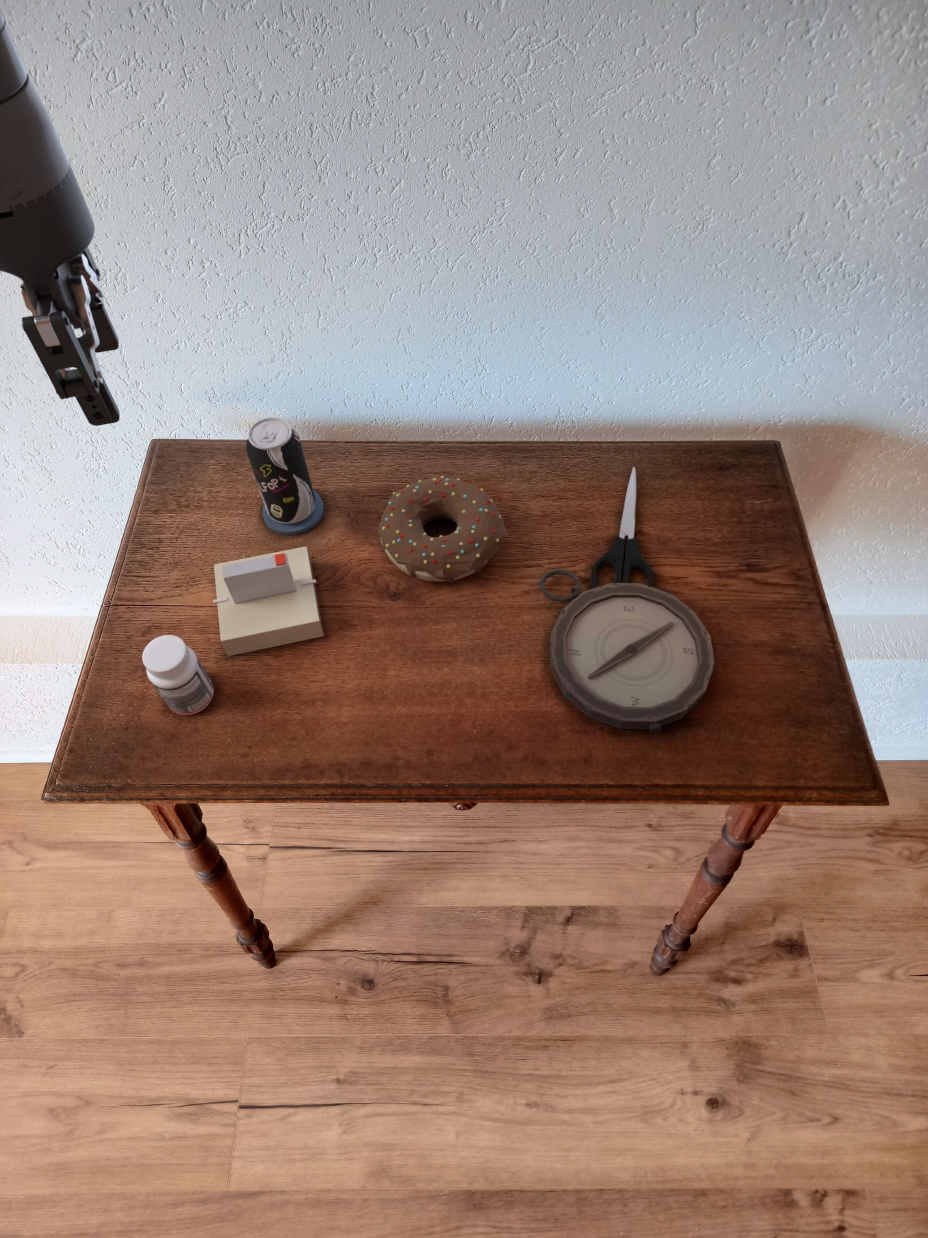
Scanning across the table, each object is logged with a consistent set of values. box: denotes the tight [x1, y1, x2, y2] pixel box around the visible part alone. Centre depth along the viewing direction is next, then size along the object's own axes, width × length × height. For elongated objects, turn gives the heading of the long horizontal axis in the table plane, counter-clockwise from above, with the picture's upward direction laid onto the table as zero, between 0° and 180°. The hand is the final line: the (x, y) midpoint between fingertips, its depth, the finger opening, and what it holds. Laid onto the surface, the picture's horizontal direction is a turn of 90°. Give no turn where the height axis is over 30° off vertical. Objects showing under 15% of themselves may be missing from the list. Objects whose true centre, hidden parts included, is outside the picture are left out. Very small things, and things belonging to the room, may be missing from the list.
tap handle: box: [222, 553, 297, 603], centre depth 82 cm, size 6×2×5 cm, turn 104°
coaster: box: [262, 489, 325, 536], centre depth 94 cm, size 7×7×1 cm
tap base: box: [212, 545, 325, 657], centre depth 85 cm, size 11×10×3 cm
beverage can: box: [245, 416, 316, 524], centre depth 89 cm, size 6×6×12 cm
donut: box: [377, 475, 509, 584], centre depth 89 cm, size 14×14×5 cm
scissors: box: [590, 466, 655, 589], centre depth 91 cm, size 7×1×20 cm
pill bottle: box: [141, 634, 215, 716], centre depth 78 cm, size 5×5×8 cm
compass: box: [539, 568, 716, 734], centre depth 82 cm, size 20×16×2 cm
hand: (106, 383), depth 62 cm, fingers open, 8 cm apart
